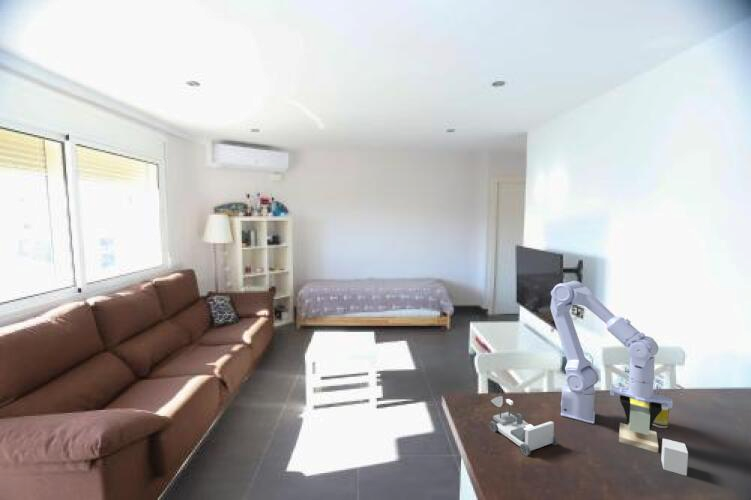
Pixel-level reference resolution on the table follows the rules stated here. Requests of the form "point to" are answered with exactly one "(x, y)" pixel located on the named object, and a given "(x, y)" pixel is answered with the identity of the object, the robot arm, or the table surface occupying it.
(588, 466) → the table surface
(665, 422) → the supplement bottle
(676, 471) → the grey block
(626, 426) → the birch block
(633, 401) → the lemon
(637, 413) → the sage block
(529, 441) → the toy car
